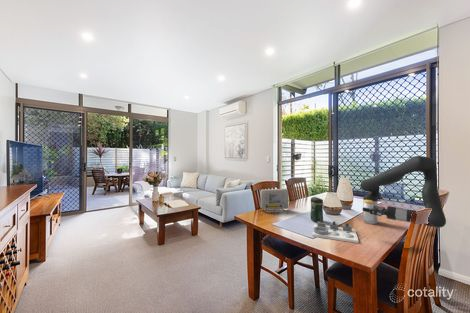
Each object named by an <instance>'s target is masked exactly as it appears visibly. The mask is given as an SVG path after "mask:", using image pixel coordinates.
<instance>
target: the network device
mask: <svg viewBox="0 0 470 313" xmlns="http://www.w3.org/2000/svg"><path fill="white" fill-rule="evenodd" d="M260 208H261V210H264V212H265V213H284V212H285V211H286V210H288V208H289V190H288V189H286V188H272V189H271V188H270V189H269V188H267V189H261V190H260ZM276 209H278V210H276Z"/></svg>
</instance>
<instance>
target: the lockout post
mask: <svg viewBox="0 0 470 313" xmlns="http://www.w3.org/2000/svg"><path fill="white" fill-rule="evenodd" d="M373 203H374V201H372V200H364V208H369V209H373ZM372 212H373V211H372ZM364 219H365V220H368V221H373V214H370V213H369V212H365V211H364Z"/></svg>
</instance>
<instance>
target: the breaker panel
mask: <svg viewBox="0 0 470 313" xmlns="http://www.w3.org/2000/svg"><path fill="white" fill-rule="evenodd" d="M316 223H317V224H316ZM316 223H314V225H313V230H312V234H311V235H312V237H314V236H315V237H316V238H322V239H329V240H335V241H342V242H348V243H354V244H355V243H356V244H359V237H358V235H357V232H356V229H355V228H353V226H352V225H351V224H349V222H345V224H342V226H339V224H338V223H336V221H334V220H333V221H332V222H330V223H329V225H327V223H326V221H324V218H323V219H320V221H318V222H316Z"/></svg>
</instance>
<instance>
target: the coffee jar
mask: <svg viewBox="0 0 470 313" xmlns="http://www.w3.org/2000/svg"><path fill="white" fill-rule="evenodd" d="M323 200H324V199H323V198H319V197H316V196H314V197H313V196H312V197H310V220H311V221H313V222H314V223H318V221H320V219H323V220H324V212H323V211H324V210H323V209H324V207H323V206H324V201H323Z"/></svg>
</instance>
